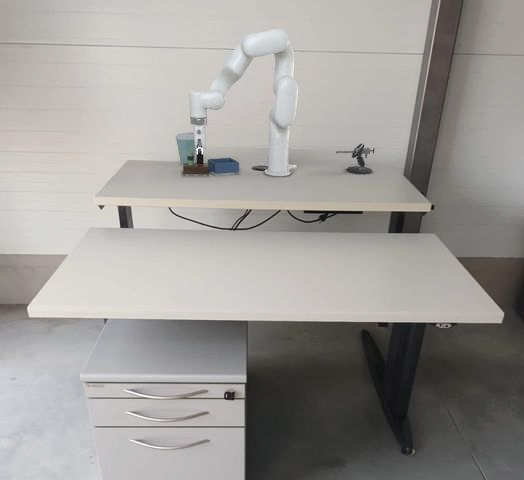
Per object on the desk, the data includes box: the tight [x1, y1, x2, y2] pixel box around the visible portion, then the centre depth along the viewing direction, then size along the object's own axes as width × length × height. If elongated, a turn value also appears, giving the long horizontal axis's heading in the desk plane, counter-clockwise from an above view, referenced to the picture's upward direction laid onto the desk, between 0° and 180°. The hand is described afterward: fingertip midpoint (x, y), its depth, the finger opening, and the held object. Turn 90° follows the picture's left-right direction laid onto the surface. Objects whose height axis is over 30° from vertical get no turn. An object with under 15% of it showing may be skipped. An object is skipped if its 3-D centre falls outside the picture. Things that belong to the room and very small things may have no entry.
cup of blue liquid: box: [175, 131, 197, 165], centre depth 249 cm, size 11×11×15 cm
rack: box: [182, 162, 209, 175], centre depth 236 cm, size 7×11×4 cm, turn 96°
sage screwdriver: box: [187, 152, 194, 165], centre depth 234 cm, size 3×3×9 cm
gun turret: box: [335, 143, 376, 175], centre depth 250 cm, size 13×20×13 cm, turn 102°
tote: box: [207, 157, 240, 175], centre depth 241 cm, size 12×10×6 cm
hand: (200, 162), depth 234 cm, fingers open, 7 cm apart
